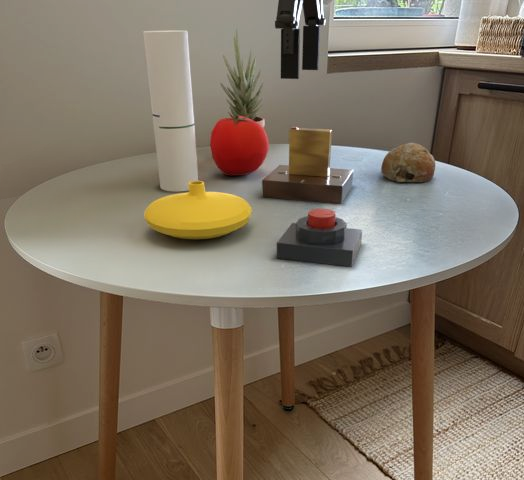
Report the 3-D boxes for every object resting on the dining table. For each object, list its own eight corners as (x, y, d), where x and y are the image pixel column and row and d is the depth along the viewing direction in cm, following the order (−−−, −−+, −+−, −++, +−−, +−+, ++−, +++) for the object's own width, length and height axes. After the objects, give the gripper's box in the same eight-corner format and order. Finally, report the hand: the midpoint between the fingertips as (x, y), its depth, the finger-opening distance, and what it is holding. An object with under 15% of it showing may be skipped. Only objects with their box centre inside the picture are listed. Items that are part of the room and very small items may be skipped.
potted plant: (226, 148, 128) (221, 26, 115) (266, 149, 127) (266, 26, 114) (219, 158, 119) (213, 28, 106) (262, 159, 118) (261, 28, 105)
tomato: (225, 164, 115) (223, 107, 109) (276, 169, 111) (277, 110, 105) (200, 179, 105) (195, 117, 99) (254, 184, 102) (253, 121, 96)
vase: (272, 235, 79) (272, 187, 75) (173, 259, 72) (167, 206, 68) (221, 207, 90) (218, 164, 86) (130, 225, 83) (124, 178, 79)
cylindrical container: (183, 178, 106) (170, 30, 92) (206, 185, 101) (196, 30, 88) (152, 186, 101) (134, 31, 88) (175, 193, 97) (160, 32, 84)
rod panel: (352, 186, 100) (353, 168, 99) (341, 204, 91) (342, 185, 90) (279, 180, 104) (279, 163, 102) (262, 197, 95) (261, 179, 93)
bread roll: (378, 198, 105) (383, 164, 99) (380, 163, 111) (384, 129, 104) (431, 200, 104) (439, 166, 97) (430, 165, 109) (438, 130, 103)
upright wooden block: (329, 174, 96) (332, 127, 92) (327, 177, 94) (330, 129, 90) (291, 171, 98) (292, 126, 93) (288, 174, 96) (289, 127, 92)
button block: (361, 244, 76) (363, 216, 74) (351, 266, 69) (354, 237, 67) (291, 237, 78) (292, 210, 76) (276, 258, 72) (276, 229, 70)
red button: (337, 222, 73) (338, 209, 72) (331, 231, 70) (332, 218, 69) (311, 220, 74) (311, 207, 73) (304, 228, 71) (305, 215, 70)
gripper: (300, -82, 88) (297, 66, 99) (252, -107, 67) (254, 82, 79) (346, -84, 86) (337, 67, 97) (310, -111, 66) (305, 83, 77)
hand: (300, 74), depth 88 cm, fingers open, 13 cm apart
